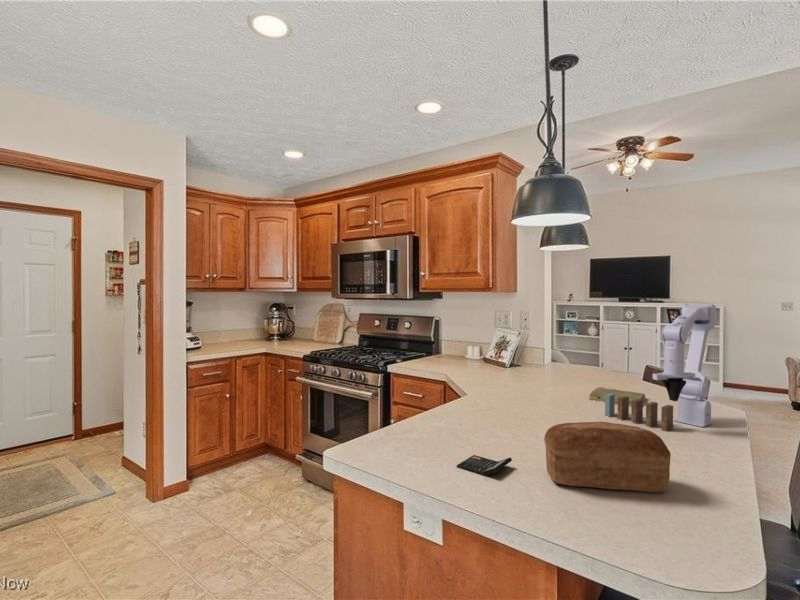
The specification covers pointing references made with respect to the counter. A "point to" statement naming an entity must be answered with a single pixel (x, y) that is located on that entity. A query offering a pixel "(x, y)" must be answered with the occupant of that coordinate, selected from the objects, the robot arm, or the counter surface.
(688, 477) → the counter surface
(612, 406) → the domino
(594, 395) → the decorative tile
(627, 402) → the domino
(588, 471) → the bread
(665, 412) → the domino
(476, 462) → the calculator
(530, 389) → the counter surface
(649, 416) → the domino
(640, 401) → the domino
